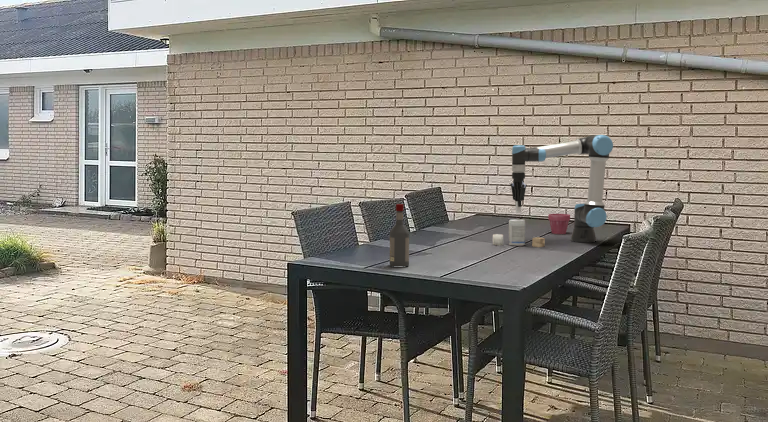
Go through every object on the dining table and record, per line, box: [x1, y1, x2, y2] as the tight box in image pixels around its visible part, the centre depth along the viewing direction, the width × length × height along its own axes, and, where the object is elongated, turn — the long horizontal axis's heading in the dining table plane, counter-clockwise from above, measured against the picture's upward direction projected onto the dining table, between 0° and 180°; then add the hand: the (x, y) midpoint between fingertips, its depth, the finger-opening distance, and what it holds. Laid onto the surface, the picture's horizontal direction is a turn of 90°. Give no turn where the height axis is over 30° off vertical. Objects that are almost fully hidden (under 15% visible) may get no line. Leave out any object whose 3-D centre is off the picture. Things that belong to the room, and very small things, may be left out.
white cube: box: [492, 233, 504, 247], centre depth 420 cm, size 6×6×6 cm
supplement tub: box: [508, 219, 526, 247], centre depth 420 cm, size 10×10×15 cm
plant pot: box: [547, 213, 571, 235], centre depth 474 cm, size 14×14×13 cm
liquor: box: [389, 203, 410, 267], centre depth 345 cm, size 9×9×30 cm
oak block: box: [531, 236, 546, 248], centre depth 415 cm, size 5×5×5 cm
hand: (518, 212), depth 418 cm, fingers closed
